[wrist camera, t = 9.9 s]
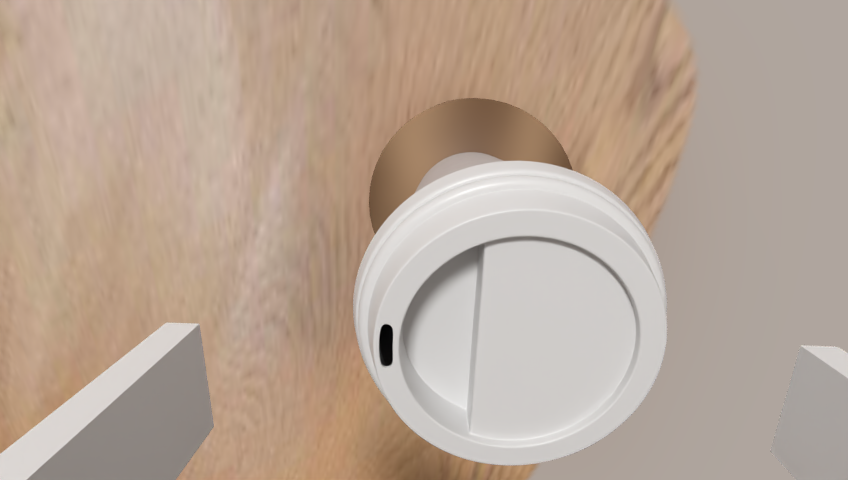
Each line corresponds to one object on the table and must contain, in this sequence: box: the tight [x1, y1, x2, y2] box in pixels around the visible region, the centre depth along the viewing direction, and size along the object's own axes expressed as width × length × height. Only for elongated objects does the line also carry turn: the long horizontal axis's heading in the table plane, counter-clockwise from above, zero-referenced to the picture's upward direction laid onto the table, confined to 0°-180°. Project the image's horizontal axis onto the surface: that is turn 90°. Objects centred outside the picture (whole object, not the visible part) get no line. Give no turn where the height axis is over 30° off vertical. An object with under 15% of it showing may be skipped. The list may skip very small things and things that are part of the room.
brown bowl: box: [369, 98, 573, 234], centre depth 29 cm, size 12×12×5 cm
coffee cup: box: [353, 152, 667, 465], centre depth 19 cm, size 10×10×15 cm
